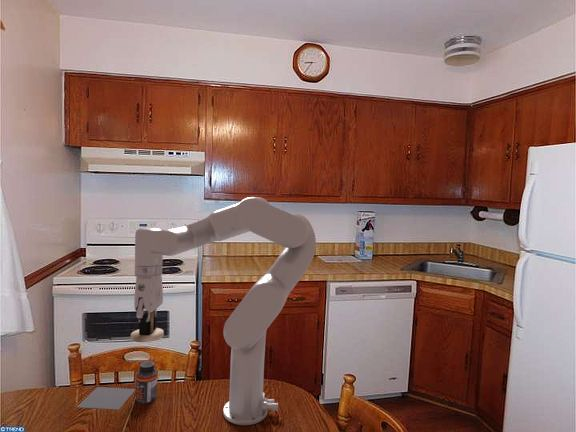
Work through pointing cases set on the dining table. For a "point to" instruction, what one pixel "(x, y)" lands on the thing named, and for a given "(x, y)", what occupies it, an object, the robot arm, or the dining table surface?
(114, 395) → the mat
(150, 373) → the supplement bottle
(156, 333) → the lid
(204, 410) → the dining table surface
